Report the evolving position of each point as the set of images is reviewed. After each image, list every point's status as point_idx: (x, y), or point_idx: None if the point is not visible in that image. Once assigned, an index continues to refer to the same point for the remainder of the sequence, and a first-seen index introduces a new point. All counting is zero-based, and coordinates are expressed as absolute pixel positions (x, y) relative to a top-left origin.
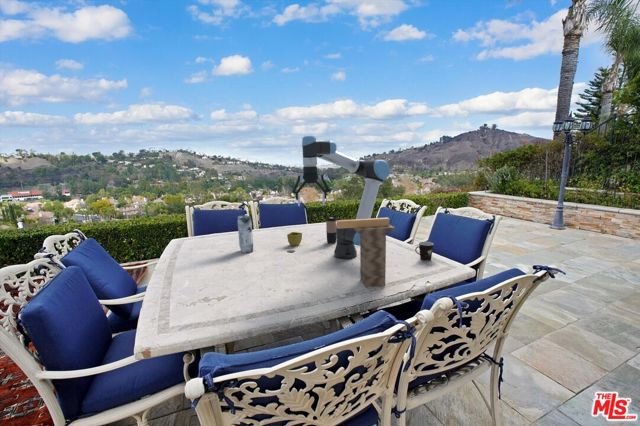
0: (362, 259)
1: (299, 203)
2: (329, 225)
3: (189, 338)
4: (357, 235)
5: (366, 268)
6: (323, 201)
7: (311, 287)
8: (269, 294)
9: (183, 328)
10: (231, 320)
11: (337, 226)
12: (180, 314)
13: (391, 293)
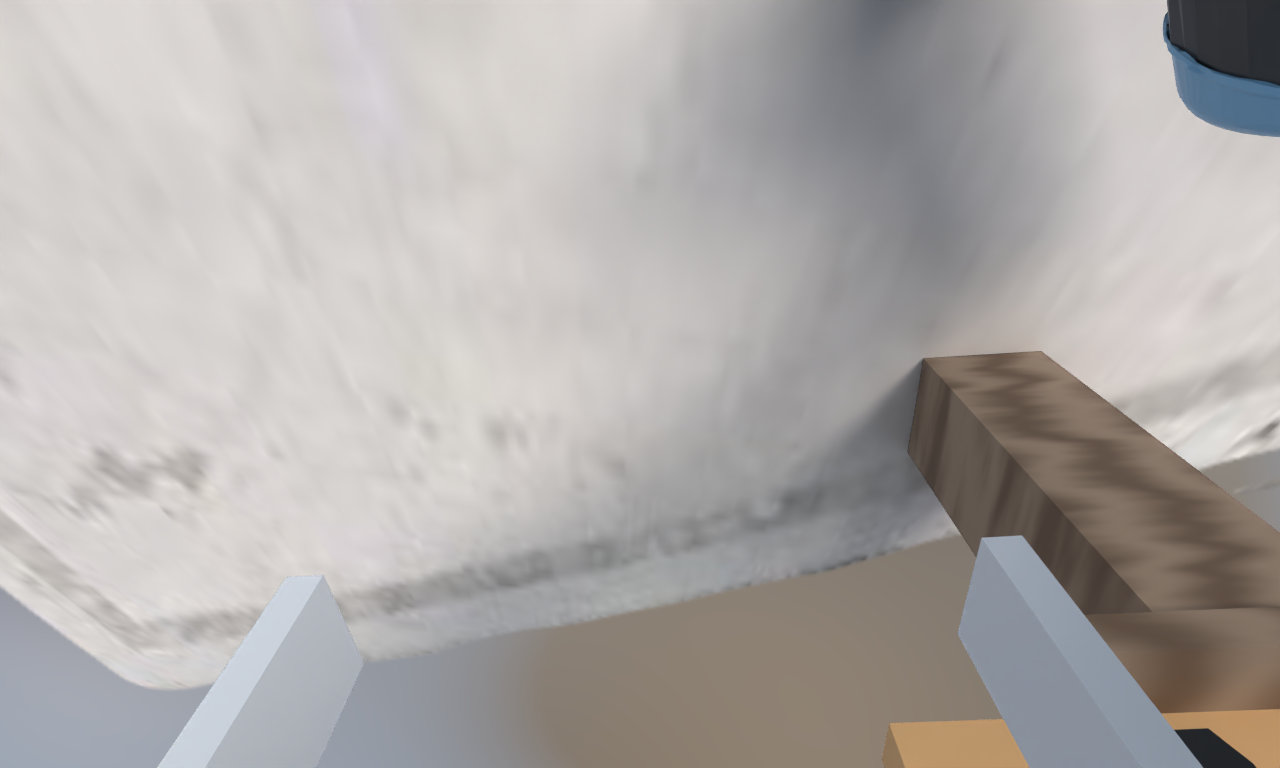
0: (984, 484)
1: (325, 728)
2: None
3: None
4: (1259, 128)
5: (957, 523)
6: (1013, 722)
7: (624, 418)
8: (414, 462)
9: (194, 634)
10: None
11: (890, 766)
12: (107, 566)
13: None
